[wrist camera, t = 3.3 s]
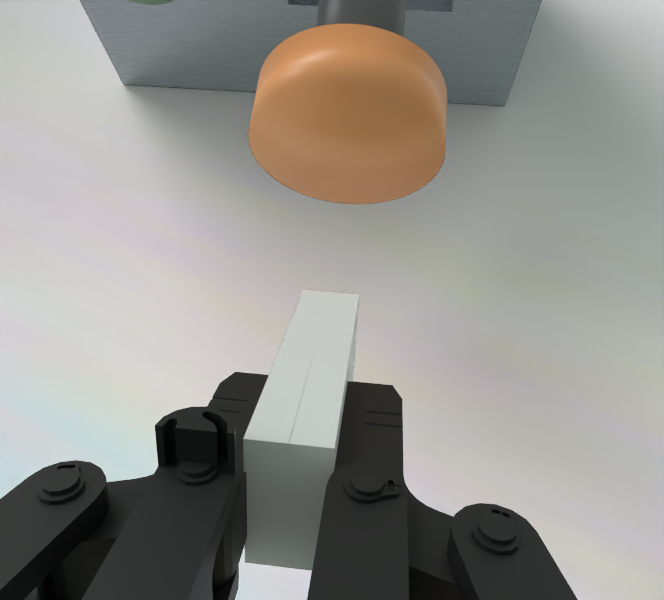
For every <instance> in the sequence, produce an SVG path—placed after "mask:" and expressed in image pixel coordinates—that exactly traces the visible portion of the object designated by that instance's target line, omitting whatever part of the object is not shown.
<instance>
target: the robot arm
mask: <svg viewBox="0 0 664 600" xmlns="http://www.w3.org/2000/svg"><path fill="white" fill-rule="evenodd" d="M358 302H359V294H352V293H340V292H328V291H316V290H304V289H303V291H302V294H301V296H300V299H299V301H298V304H297V306H296V309H295V311H294V314H293V316H292V319H291V321H290V324H289V326H288V329H287V331H286V334H285V336H284V339H283V341H282V344H281V346H280V349H279V351H278V354H277V356H276V359H275V361H274V364H273V366H272V369H271V371H270V374H269V375H262V374H251V373H241V372H235V373H233V374H232V375H231V376H229V377H228V378H227V379H225V380H224V381H222V382H221V383H220V384H219V386H218V388H217V390H216V392H215V393H214V395H213V399H212V400H211V401H210V403H209V405H208V406H207V407H189V408H185V409H181V410H176V411H174V412H172V413H170V414H168V415H166V416H164V417H163V418H162V419H161V420H160V421H159V422H158V423H157V424H156V425H155V432H156V443H157V454H158V468H157V470H156V471H155V473H154V474H153V475H150V476H147V477H142V478H137V479H131V480H123V481H115V482H106V476H105V474H104V473H103V471H102V469H101V468H100V467H98V466H96V465H94V464H93V463H91V462H84V461H68V462H60V463H57V464H54V465H51V466H48V467H45V468H43V469H41V470H39V471H38V472H36V473H34V474H33V475H31V476H29V477H28V478H27V479H25V480H24V481H23V482H22V483H20V484H19V485H18V486H16V487H15V488H14V489H13V490H11V491H10V492H9V493H8V494H6V495H5V496H4V497H3V498H1V499H0V600H235V597H236V593H237V590H238V580H239V569H238V564H239V561H240V557H241V554H242V551H243V548H244V545H245V562H247V563H255V564H263V565H272V566H280V567H288V568H296V569H305V570H312V575H311V580H310V586H309V592H308V598H307V600H577V598H576V596H575V595H574V593H573V591H572V590H571V588H570V586H569V585H568V583H567V581H566V580H565V578H564V576H563V575H562V573H561V571H560V570H559V568H558V566H557V565H556V563H555V561H554V560H553V558H552V556H551V555H550V553H549V551H548V550H547V548H546V546H545V544H544V543H543V541H542V539H541V538H540V536H539V534H538V533H537V531H536V530H535V529H534V528H533V527H532V526H531V524H530V523H529V522H528V521H527V520H526V519H525V518H523V517H521V516H520V515H518V514H517V513H515V512H514V511H512V510H510V509H507V508H504V507H501V506H498V505H494V504H482V503H479V504H474V505H470V506H466V507H464V508H463V509H462V510H460V511H459V512H458V513H456V514H455V517H453V516H450V515H447V514H445V513H442V512H439V511H437V510H435V509H432V508H430V507H428V506H426V505H425V504H423V503H422V502H420V501H419V500H417V499H416V498H415V497H414V496H413V495H412V493H411V492H410V491H409V490H408V488H407V486H406V484H405V481H404V476H403V429H402V427H403V425H402V398H401V397H400V395H399V394H398V393H397V391H396V390H395V388H394V387H393V385H383V384H372V383H362V382H353V371H354V358H355V344H356V330H357V316H358Z"/></svg>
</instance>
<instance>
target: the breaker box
mask: <svg viewBox="0 0 664 600" xmlns="http://www.w3.org/2000/svg"><path fill="white" fill-rule="evenodd" d="M541 1H542V0H407V1H406V14H405V27H404V38H406V39H408V40H409V41H411V42H412V43H414V44H416V45H417V46H418V47H420V48H421V49H422V50H423V51H425V52H426V53H427V54H428V55H429V56H430V57H431V58H432V60H433V61H434V62H435V63H436V65H437V66H438V68H439V69H440V71H441V73H442V75H443V77H444V80H445V84H446V88H447V103H464V104H482V105H499V106H505V104H506V101H507V98H508V95H509V92H510V89H511V87H512V84H513V81H514V78H515V75H516V72H517V69H518V67H519V64H520V61H521V58H522V55H523V52H524V49H525V46H526V44H527V41H528V38H529V35H530V32H531V29H532V26H533V24H534V21H535V18H536V15H537V12H538V9H539V6H540V4H541ZM80 2H81V4H82V6H83V8H84V10H85V11H86V13H87V15H88V17H89V19H90V21H91V23H92V25H93V27H94V29H95V31H96V33H97V35H98V37H99V38H100V40H101V42H102V44H103V46H104V48H105V50H106V52H107V54H108V56H109V58H110V60H111V62H112V63H113V65H114V67H115V69H116V71H117V73H118V75H119V77H120V79H121V81H122V83H123V84H124V85H142V86H160V87H178V88H196V89H214V90H232V91H249V92H256V90H257V85H258V79H259V75H260V71H261V68H262V66H263V64H264V61H265V60H266V58H267V57H268V56H269V54H270V53H271V52H272V51H273V50H274V49H275V48H276V47H277V46H278V45H279V44H280V43H282V42H283V41H284V40H286V39H287V38H289V37H291V36H293V35H295V34H297V33H299V32H301V31H304V30H307V29H310V28H314V27H315V26H316V19H317V13H318V6H319V0H80Z"/></svg>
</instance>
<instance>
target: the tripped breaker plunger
mask: <svg viewBox="0 0 664 600" xmlns="http://www.w3.org/2000/svg"><path fill="white" fill-rule="evenodd" d="M406 1H407V0H319V6H318V13H317V19H316V26H315V27H314V28H310V29H307V30H304V31H301V32H299V33H297V34H295V35H293V36H291V37H289V38H287V39H286V40H284V41H283V42H282V43H280V44H279V45H278V46H277V47H276V48H275V49H274V50H273V51H272V52H271V53H270V54H269V56H268V57H267V58H266V60H265V61H264V64H263V66H262V68H261V71H260V75H259V79H258V85H257V90H256V95H255V100H254V105H253V111H252V116H251V121H250V126H249V136H248V139H249V144H250V148H251V151H252V153H253V155H254V157H255V159H256V160H257V162H258V163H259V164H260V166H261V167H262V168H263V169H264V170H265V171H266V172H267V173H268V174H269V175H270V176H272V177H273V178H274V179H275V180H277V181H278V182H280V183H281V184H283V185H285V186H286V187H288V188H290V189H292V190H294V191H297V192H299V193H301V194H304V195H307V196H310V197H313V198H316V199H320V200H325V201H330V202H336V203H345V204H371V203H380V202H385V201H390V200H394V199H398V198H401V197H404V196H406V195H409V194H411V193H413V192H415V191H417V190H419V189H420V188H422V187H423V186H425V185H426V184H427V183H428V182H430V181H431V180H432V179H433V178H434V176H435V175H436V174H437V173H438V171H439V169H440V168H441V166H442V163H443V160H444V156H445V143H446V116H447V88H446V84H445V80H444V77H443V75H442V73H441V71H440V69H439V68H438V66H437V65H436V63H435V62H434V61H433V60H432V58H431V57H430V56H429V55H428V54H427V53H426V52H425V51H423V50H422V49H421V48H420V47H418V46H417V45H416V44H414V43H412V42H411V41H409V40H408V39H406V38H404V27H405V14H406Z"/></svg>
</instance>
